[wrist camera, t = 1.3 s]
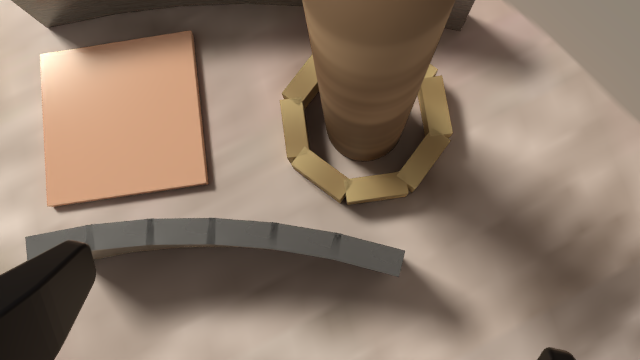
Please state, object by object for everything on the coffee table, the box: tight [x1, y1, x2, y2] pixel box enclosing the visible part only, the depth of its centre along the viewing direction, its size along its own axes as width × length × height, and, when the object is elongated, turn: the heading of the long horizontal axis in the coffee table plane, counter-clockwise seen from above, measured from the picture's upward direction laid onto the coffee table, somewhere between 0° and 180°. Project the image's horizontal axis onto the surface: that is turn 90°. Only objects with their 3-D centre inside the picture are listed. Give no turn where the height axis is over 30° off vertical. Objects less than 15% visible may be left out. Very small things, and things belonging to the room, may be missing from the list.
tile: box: [40, 30, 209, 207], centre depth 24 cm, size 8×8×1 cm
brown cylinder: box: [280, 0, 455, 205], centre depth 17 cm, size 7×7×13 cm
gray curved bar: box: [11, 0, 475, 277], centre depth 22 cm, size 16×21×4 cm
